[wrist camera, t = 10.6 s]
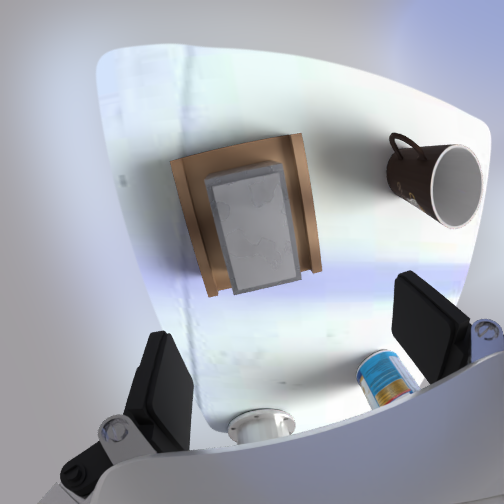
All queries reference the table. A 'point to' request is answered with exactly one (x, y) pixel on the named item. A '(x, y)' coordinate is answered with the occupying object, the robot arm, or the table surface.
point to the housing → (254, 225)
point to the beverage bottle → (385, 379)
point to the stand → (200, 214)
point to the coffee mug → (437, 180)
